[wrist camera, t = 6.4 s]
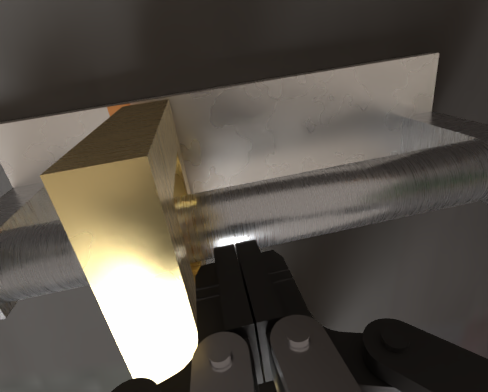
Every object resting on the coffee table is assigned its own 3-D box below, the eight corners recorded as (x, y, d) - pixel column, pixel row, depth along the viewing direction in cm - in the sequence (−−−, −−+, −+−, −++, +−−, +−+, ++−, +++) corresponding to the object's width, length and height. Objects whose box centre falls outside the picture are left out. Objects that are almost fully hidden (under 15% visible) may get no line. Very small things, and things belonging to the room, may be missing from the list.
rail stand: (427, 52, 19) (586, 52, 12) (411, 194, 24) (518, 261, 16) (-7, 123, 17) (-168, 181, 9) (63, 266, 21) (-6, 386, 14)
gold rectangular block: (168, 98, 16) (147, 156, 7) (204, 253, 20) (219, 409, 12) (122, 106, 16) (39, 175, 7) (168, 261, 20) (155, 425, 11)
